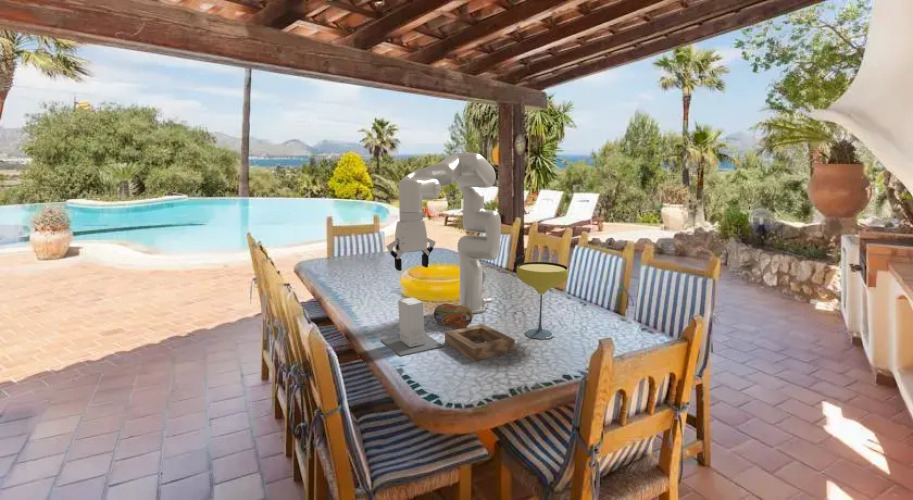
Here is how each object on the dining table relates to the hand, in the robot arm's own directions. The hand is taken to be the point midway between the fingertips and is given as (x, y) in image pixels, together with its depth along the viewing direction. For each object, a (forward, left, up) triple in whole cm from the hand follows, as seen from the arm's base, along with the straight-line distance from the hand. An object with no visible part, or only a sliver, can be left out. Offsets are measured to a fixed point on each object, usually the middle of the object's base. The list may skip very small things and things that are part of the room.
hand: (412, 268), depth 157 cm
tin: (-22, -9, -26) cm, 35 cm away
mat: (0, 0, -26) cm, 26 cm away
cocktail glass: (-44, +15, -26) cm, 53 cm away
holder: (-18, +14, -26) cm, 35 cm away
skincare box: (0, 0, -26) cm, 26 cm away
